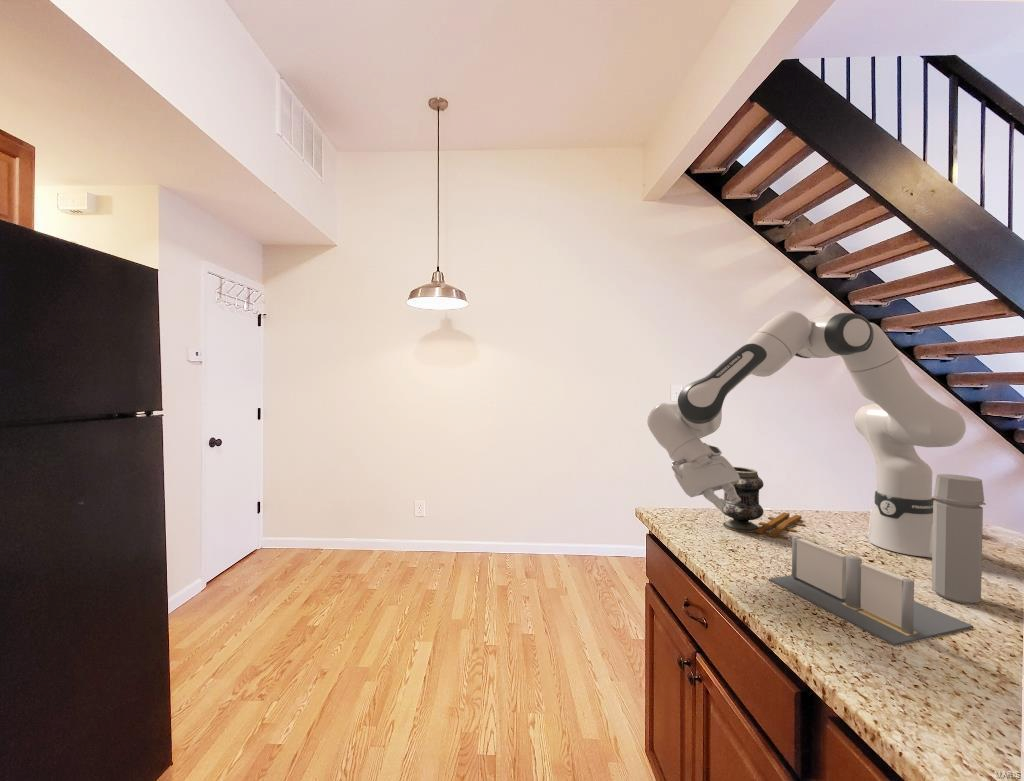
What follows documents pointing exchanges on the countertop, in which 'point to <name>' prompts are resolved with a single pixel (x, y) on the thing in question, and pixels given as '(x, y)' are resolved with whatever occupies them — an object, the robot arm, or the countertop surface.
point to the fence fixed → (880, 593)
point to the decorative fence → (780, 527)
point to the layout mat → (924, 617)
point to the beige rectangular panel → (819, 566)
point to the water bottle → (957, 538)
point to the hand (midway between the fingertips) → (730, 504)
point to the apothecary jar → (744, 502)
